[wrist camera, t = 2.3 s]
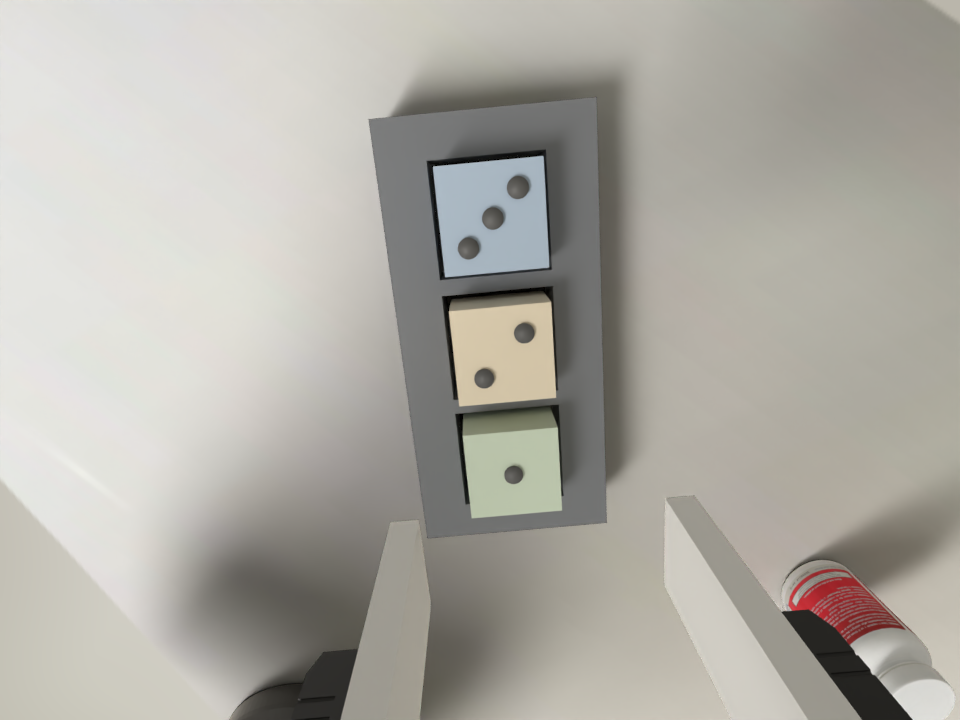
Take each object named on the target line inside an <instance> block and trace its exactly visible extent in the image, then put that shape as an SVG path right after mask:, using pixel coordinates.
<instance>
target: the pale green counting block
mask: <svg viewBox="0 0 960 720" xmlns="http://www.w3.org/2000/svg"><path fill="white" fill-rule="evenodd" d="M463 444H464V453H465V462H466V472H467V481H468V490H469V499H470V508H471V517H472V518H483V517H494V516H505V515H517V514H528V513H540V512H551V511H562V499H561V480H560V461H559V442H558V427H557V424H556V421H555V419H554V416H553V413H552V411H551V408H550V405H548V406H537V407H526V408H515V409H504V410H493V411H482V412H471V413H463Z"/></svg>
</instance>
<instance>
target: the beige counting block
mask: <svg viewBox="0 0 960 720" xmlns="http://www.w3.org/2000/svg"><path fill="white" fill-rule="evenodd" d="M449 318H450V327H451V336H452V345H453V354H454V363H455V372H456V381H457V390H458V399H459V407H460V406H471V405H482V404H493V403H504V402H515V401H526V400H537V399H548V398H556V384H555V365H554V346H553V327H552V308H551V301H550V300H549V298H548V297H547V296H546V295H545V293H544V292H543V291H532V292H522V293H511V294H500V295H489V296H479V297H468V298H457V299H451V303H450V308H449Z"/></svg>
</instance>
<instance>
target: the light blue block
mask: <svg viewBox="0 0 960 720" xmlns="http://www.w3.org/2000/svg"><path fill="white" fill-rule="evenodd" d="M433 173H434V182H435V191H436V200H437V209H438V218H439V227H440V236H441V245H442V254H443V264H444V273H445V277H454V276H465V275H476V274H486V273H497V272H508V271H518V270H529V269H540V268H549V250H548V231H547V212H546V193H545V174H544V156H537V157H527V158H516V159H506V160H495V161H485V162H475V163H464V164H454V165H444V166H433Z"/></svg>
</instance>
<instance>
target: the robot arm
mask: <svg viewBox="0 0 960 720" xmlns="http://www.w3.org/2000/svg"><path fill="white" fill-rule="evenodd" d="M664 586H665V588H666V590H667V592H668V594H669V596H670V598H671V600H672V602H673V604H674V606H675V608H676V610H677V612H678V614H679V616H680V618H681V620H682V622H683V624H684V626H685V628H686V630H687V632H688V634H689V636H690V638H691V640H692V642H693V644H694V646H695V648H696V650H697V652H698V654H699V656H700V658H701V660H702V662H703V664H704V666H705V668H706V670H707V672H708V674H709V676H710V678H711V680H712V682H713V684H714V686H715V688H716V690H717V692H718V694H719V696H720V698H721V700H722V702H723V704H724V706H725V708H726V710H727V712H728V714H729V716H730V718H731V720H913V719H912V718H911V717H910V716H909V715H908V713H907V712H906V711H905V710H904V709H903V707H902V706H901V705H900V704H899V703H898V702H897V700H896V699H895V698H894V697H893V696H892V694H891V693H890V692H889V691H888V690H887V689H886V687H885V686H884V685H883V684H882V683H881V681H880V680H879V679H878V678H877V677H876V676H875V675H872V673H871V670H870V668H869V667H868V666H867V665H866V664H865V663H864V661H863V660H862V659H861V658H860V657H859V655H856V654H855V651H854V650H853V648H852V647H851V646H850V645H849V644H848V642H847V641H846V640H845V639H844V638H843V637H842V635H841V634H840V633H839V632H838V631H837V629H836V628H835V627H833V626H832V625H830V624H829V623H827V622H826V621H825V620H823V619H822V618H820V617H819V616H818V615H816V614H815V613H813V612H812V611H810V610H809V609H807V610H795V611H783V612H781V611H780V610H779V608H778V607H777V606H776V604H775V603H774V602H773V600H772V599H771V598H770V596H769V595H768V594H767V592H766V591H765V590H764V588H763V587H762V585H761V584H760V583H759V581H758V580H757V579H756V577H755V576H754V575H753V573H752V572H751V571H750V569H749V568H748V567H747V565H746V564H745V563H744V561H743V560H742V559H741V557H740V556H739V555H738V553H737V552H736V551H735V549H734V548H733V547H732V545H731V544H730V543H729V541H728V540H727V539H726V537H725V536H724V535H723V533H722V532H721V531H720V529H719V528H718V527H717V525H716V524H715V523H714V521H713V520H712V519H711V517H710V516H709V515H708V513H707V512H706V511H705V509H704V508H703V507H702V505H701V504H700V503H699V501H698V500H697V499H696V497H695V496H694V495H693V496H682V497H671V498H665V538H664ZM430 611H431V599H430V592H429V586H428V579H427V572H426V565H425V558H424V551H423V544H422V537H421V530H420V523H419V520H408V521H397V522H390V525H389V529H388V533H387V537H386V541H385V545H384V549H383V553H382V557H381V561H380V565H379V569H378V573H377V577H376V581H375V585H374V589H373V593H372V597H371V601H370V605H369V609H368V613H367V617H366V621H365V625H364V629H363V632H362V636H361V640H360V644H359V648H358V649H354V650H342V651H331V652H323V653H322V655H321V656H320V657H319V659H318V660H317V661H316V662H315V664H314V665H313V666H312V668H311V669H310V670H309V671H308V673H307V674H306V677H305V680H304V682H303V684H289V685H282V686H277V687H273V688H269V689H266V690H264V691H261V692H259V693H257V694H255V695H253V696H251V697H250V698H248V699H247V700H246V701H244V702H243V703H242V704H241V705H240V706H239V707H238V708H237V709H236V710H235V711H234V713H233V714H232V715H231V717H230V719H229V720H420V711H421V701H422V691H423V681H424V671H425V661H426V651H427V641H428V631H429V621H430Z"/></svg>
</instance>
